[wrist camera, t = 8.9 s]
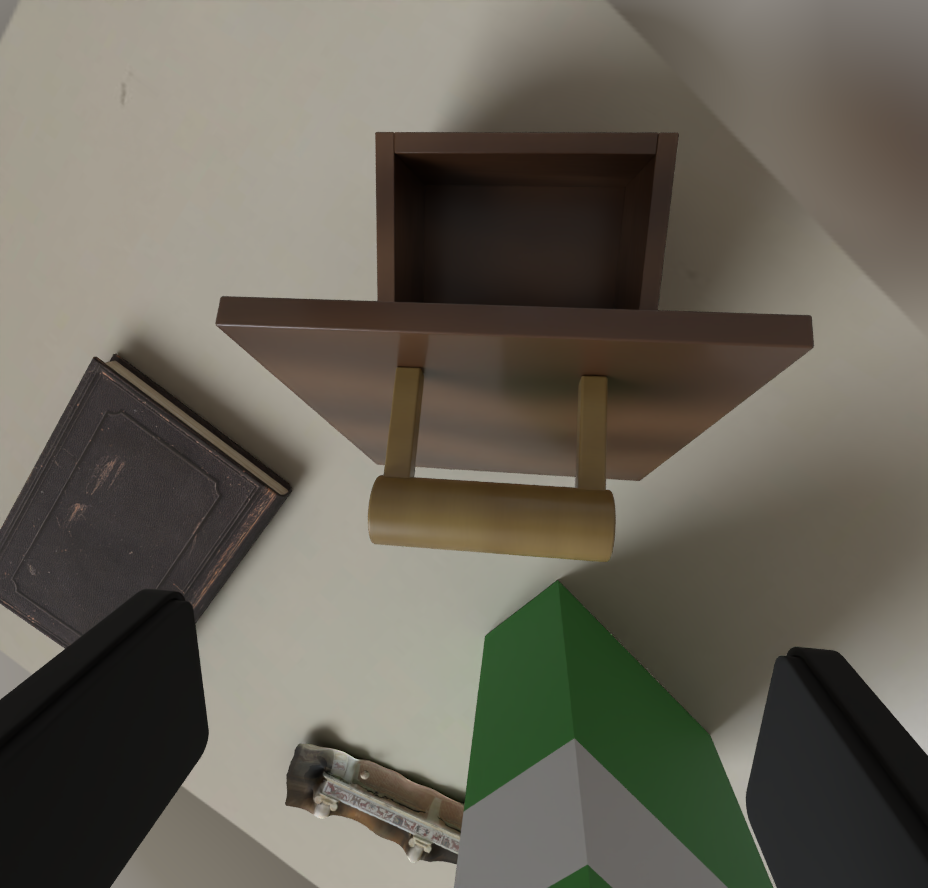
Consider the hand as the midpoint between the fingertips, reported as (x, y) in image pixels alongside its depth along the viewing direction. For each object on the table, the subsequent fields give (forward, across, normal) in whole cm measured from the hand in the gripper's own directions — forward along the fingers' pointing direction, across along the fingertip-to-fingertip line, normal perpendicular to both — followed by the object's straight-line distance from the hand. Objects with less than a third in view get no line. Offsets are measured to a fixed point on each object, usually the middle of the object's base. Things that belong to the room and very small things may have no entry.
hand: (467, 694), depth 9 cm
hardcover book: (+30, +29, +13) cm, 43 cm away
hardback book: (+29, -8, +23) cm, 38 cm away
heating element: (+29, +3, +39) cm, 49 cm away
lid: (+13, 0, -2) cm, 13 cm away
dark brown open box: (+30, 0, -5) cm, 30 cm away
